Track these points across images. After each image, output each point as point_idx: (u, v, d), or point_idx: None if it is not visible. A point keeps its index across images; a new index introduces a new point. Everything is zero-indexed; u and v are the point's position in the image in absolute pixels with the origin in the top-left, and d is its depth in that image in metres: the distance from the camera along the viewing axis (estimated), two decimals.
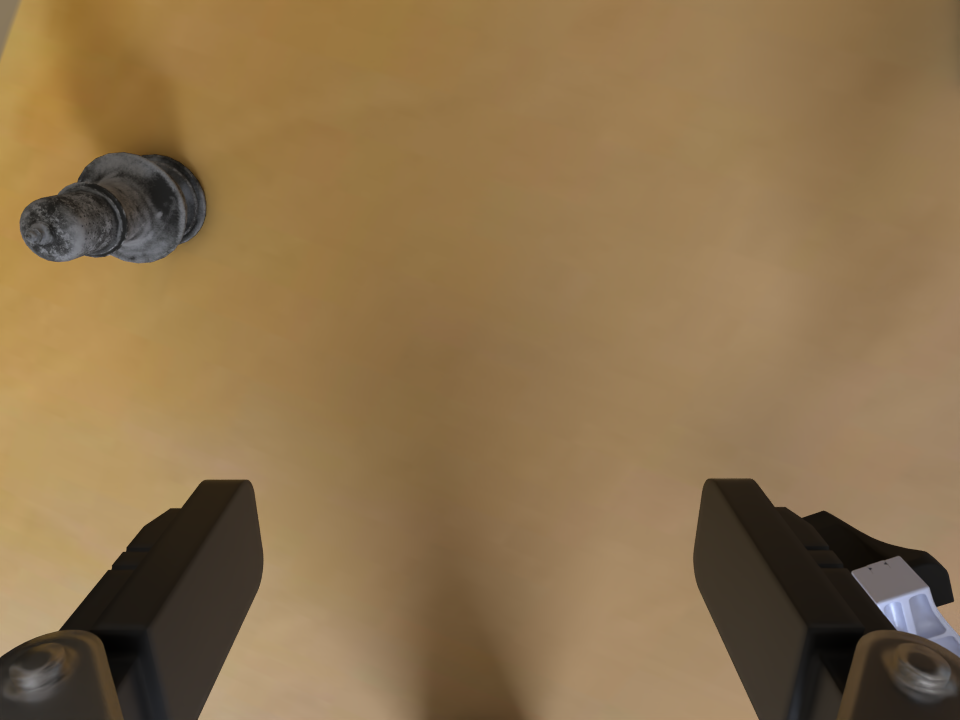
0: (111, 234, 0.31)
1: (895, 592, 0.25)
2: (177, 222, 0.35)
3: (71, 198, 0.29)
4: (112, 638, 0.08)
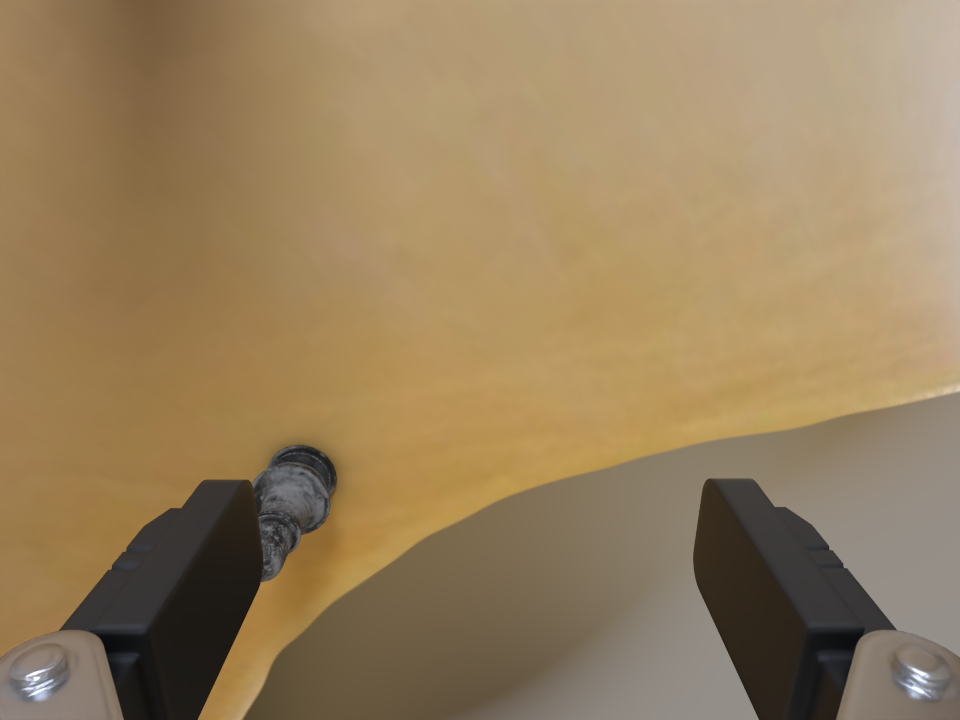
0: None
1: None
2: (256, 485, 0.46)
3: None
4: (112, 638, 0.08)
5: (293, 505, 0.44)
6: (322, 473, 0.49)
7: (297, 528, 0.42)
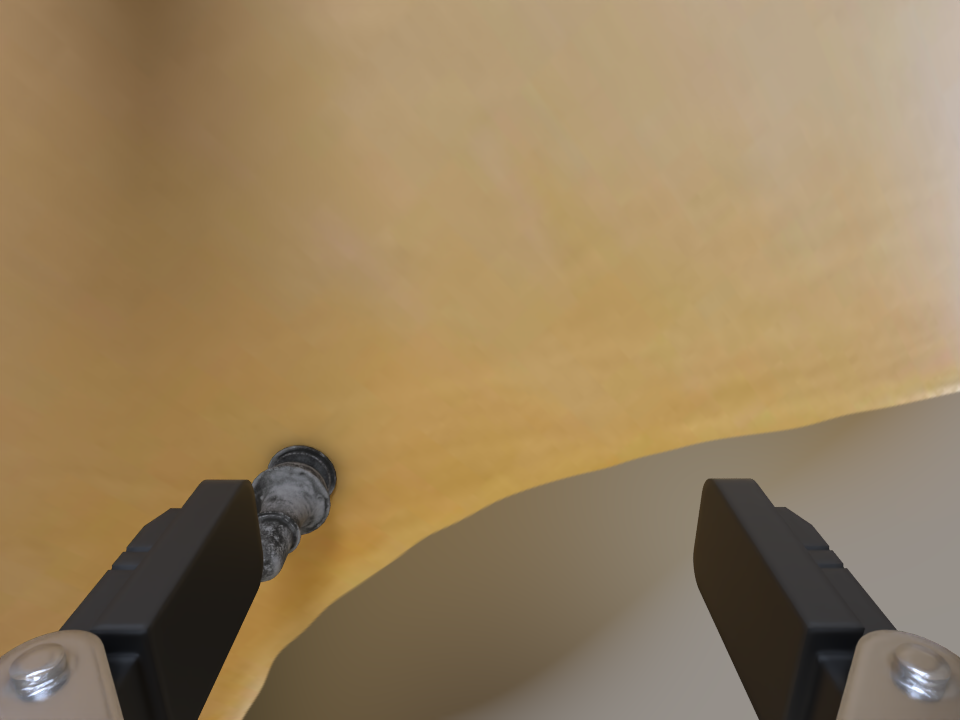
0: None
1: None
2: (256, 485, 0.46)
3: None
4: (112, 638, 0.08)
5: (293, 505, 0.44)
6: (322, 473, 0.49)
7: (297, 528, 0.42)
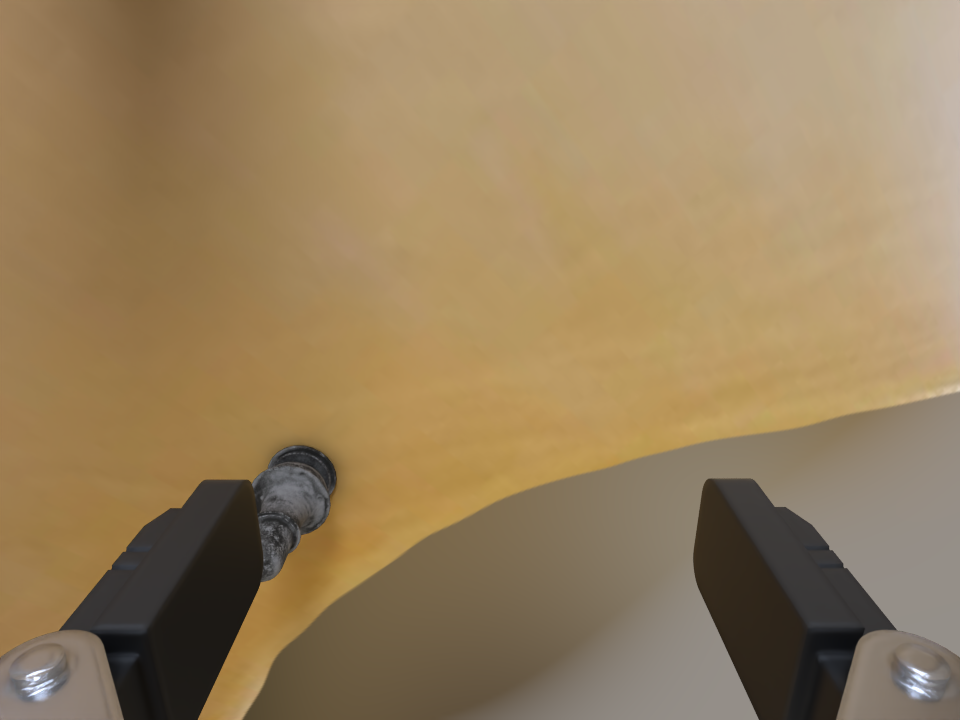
0: None
1: None
2: (256, 485, 0.46)
3: None
4: (112, 638, 0.08)
5: (293, 505, 0.44)
6: (322, 473, 0.49)
7: (297, 528, 0.42)
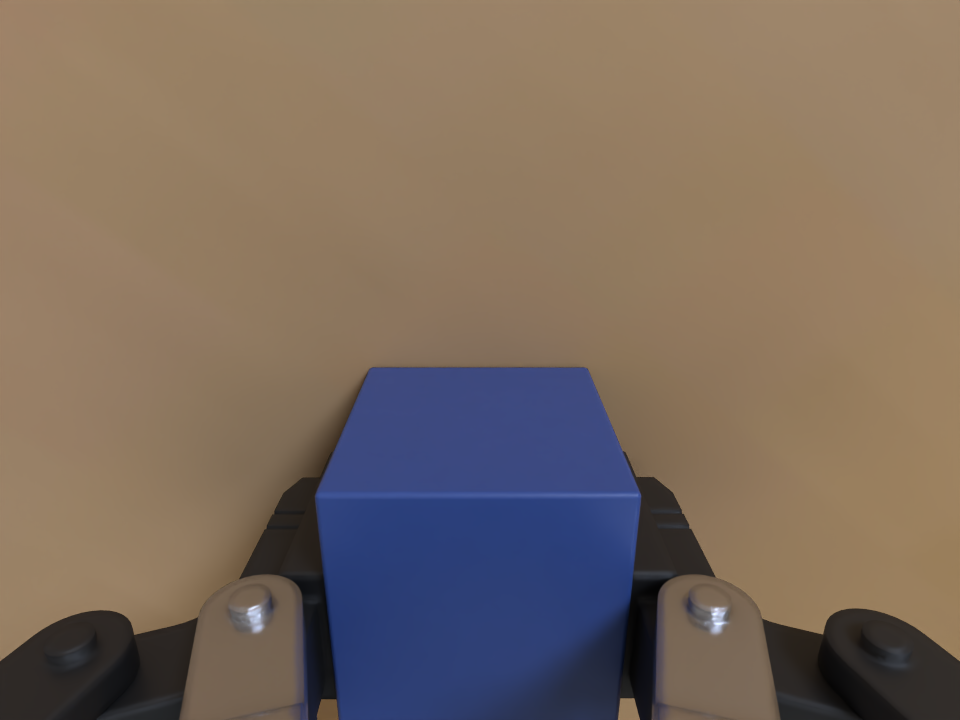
0: None
1: None
2: None
3: None
4: (297, 583, 0.09)
5: None
6: None
7: None
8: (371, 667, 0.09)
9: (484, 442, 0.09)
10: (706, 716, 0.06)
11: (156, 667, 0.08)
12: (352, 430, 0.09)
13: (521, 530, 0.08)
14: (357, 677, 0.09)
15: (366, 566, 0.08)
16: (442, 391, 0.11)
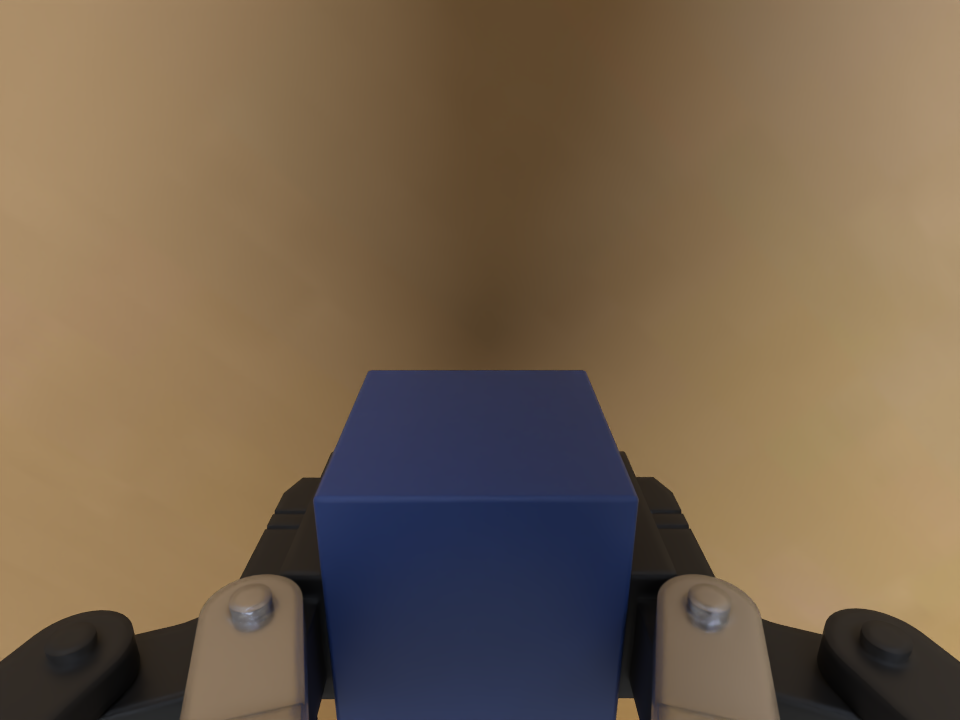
0: None
1: None
2: None
3: None
4: (297, 583, 0.09)
5: None
6: None
7: None
8: (370, 670, 0.09)
9: (482, 445, 0.09)
10: (705, 716, 0.06)
11: (157, 667, 0.08)
12: (350, 433, 0.09)
13: (519, 533, 0.08)
14: (355, 680, 0.09)
15: (363, 569, 0.08)
16: (440, 394, 0.11)
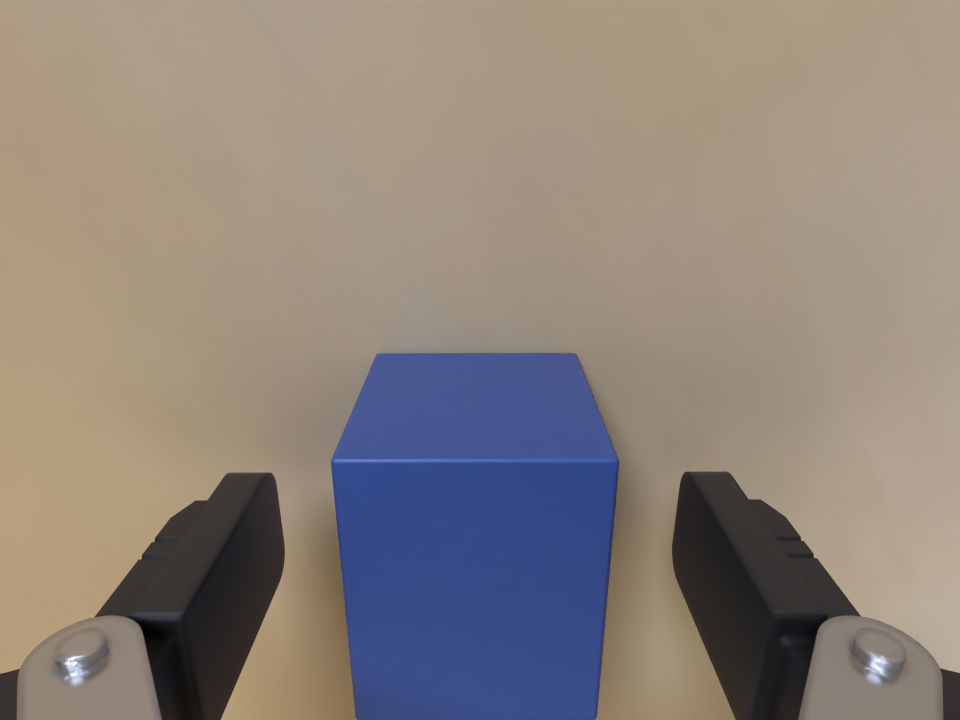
0: None
1: None
2: None
3: None
4: (148, 624, 0.08)
5: None
6: None
7: None
8: (380, 617, 0.10)
9: (481, 416, 0.10)
10: None
11: None
12: (362, 407, 0.10)
13: (513, 491, 0.09)
14: (368, 626, 0.10)
15: (376, 524, 0.09)
16: (443, 374, 0.12)
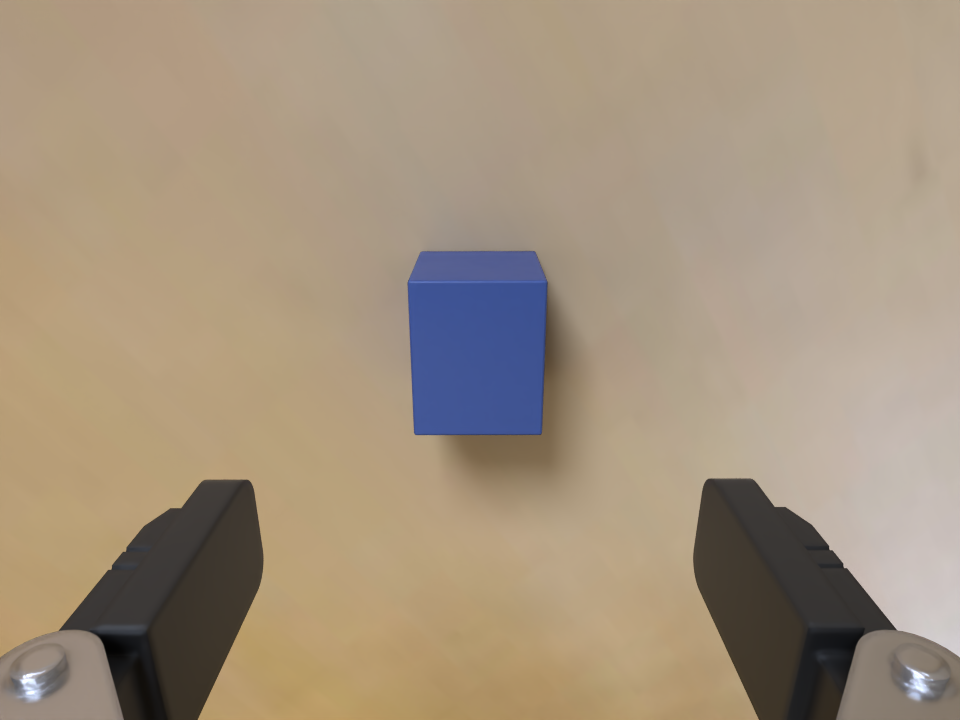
0: None
1: None
2: None
3: None
4: (112, 638, 0.08)
5: None
6: None
7: None
8: (429, 370, 0.19)
9: (480, 270, 0.20)
10: None
11: None
12: (418, 267, 0.20)
13: (496, 298, 0.19)
14: (422, 376, 0.19)
15: (428, 316, 0.19)
16: (459, 257, 0.21)
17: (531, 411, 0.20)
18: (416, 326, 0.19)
